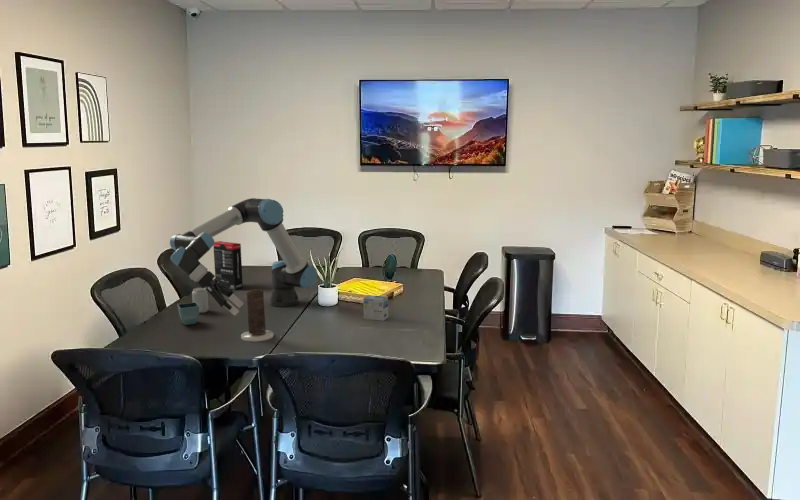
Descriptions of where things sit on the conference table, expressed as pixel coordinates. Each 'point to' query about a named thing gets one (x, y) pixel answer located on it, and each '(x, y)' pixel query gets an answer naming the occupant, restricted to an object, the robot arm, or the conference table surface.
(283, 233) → the robot arm
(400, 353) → the conference table surface
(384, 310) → the light bulb box
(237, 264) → the graphics card box
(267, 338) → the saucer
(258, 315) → the candle
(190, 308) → the flower pot
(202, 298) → the can
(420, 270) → the conference table surface
